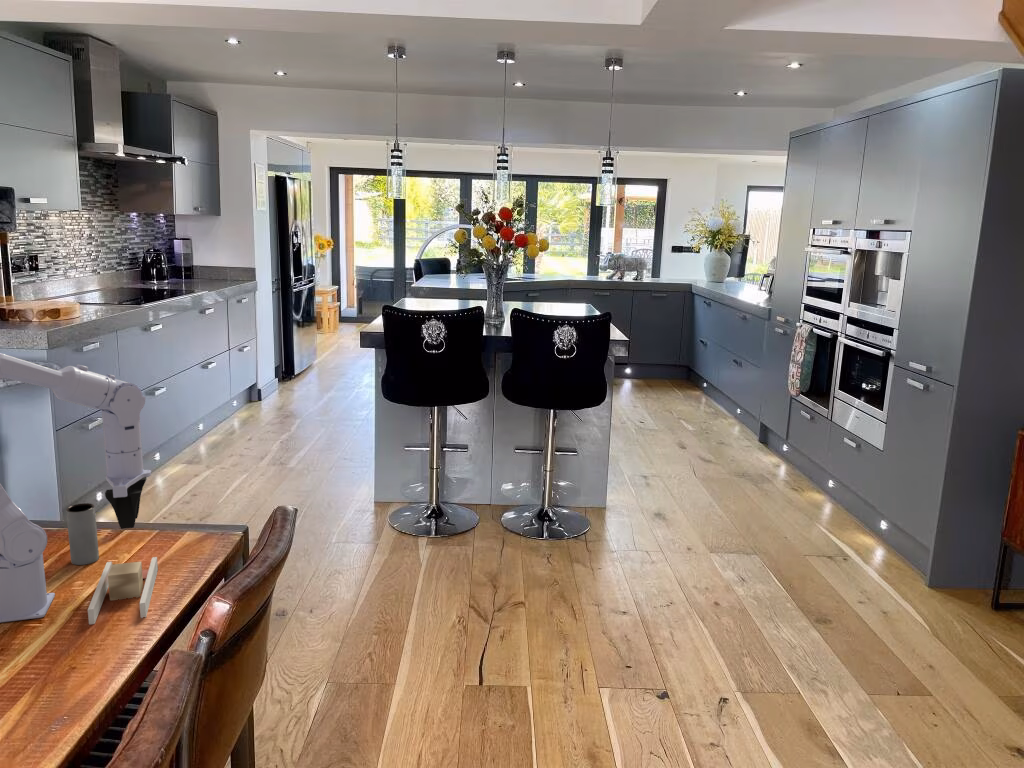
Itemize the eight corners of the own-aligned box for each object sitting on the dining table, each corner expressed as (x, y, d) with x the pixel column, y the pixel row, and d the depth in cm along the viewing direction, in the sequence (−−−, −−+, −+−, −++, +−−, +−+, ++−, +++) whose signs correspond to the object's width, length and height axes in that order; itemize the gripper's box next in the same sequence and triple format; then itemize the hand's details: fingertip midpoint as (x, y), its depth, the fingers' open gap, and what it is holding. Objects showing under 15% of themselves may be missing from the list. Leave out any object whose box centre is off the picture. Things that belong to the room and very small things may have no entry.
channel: (88, 624, 120) (87, 609, 119) (108, 575, 136) (106, 562, 136) (146, 617, 122) (145, 602, 122) (157, 569, 139) (157, 556, 138)
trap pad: (111, 583, 133) (111, 581, 133) (114, 574, 137) (114, 572, 136) (149, 578, 135) (149, 577, 135) (151, 570, 138) (151, 568, 138)
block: (110, 600, 127) (107, 575, 126) (114, 589, 131) (112, 564, 131) (139, 597, 129) (138, 572, 128) (143, 585, 133) (141, 561, 132)
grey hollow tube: (90, 565, 140) (85, 512, 138) (65, 565, 140) (60, 511, 138) (104, 555, 144) (99, 503, 142) (80, 554, 144) (75, 502, 142)
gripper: (143, 459, 128) (149, 536, 130) (153, 436, 141) (158, 506, 144) (96, 462, 125) (103, 540, 128) (110, 439, 139) (116, 510, 141)
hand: (129, 522), depth 136 cm, fingers open, 4 cm apart
